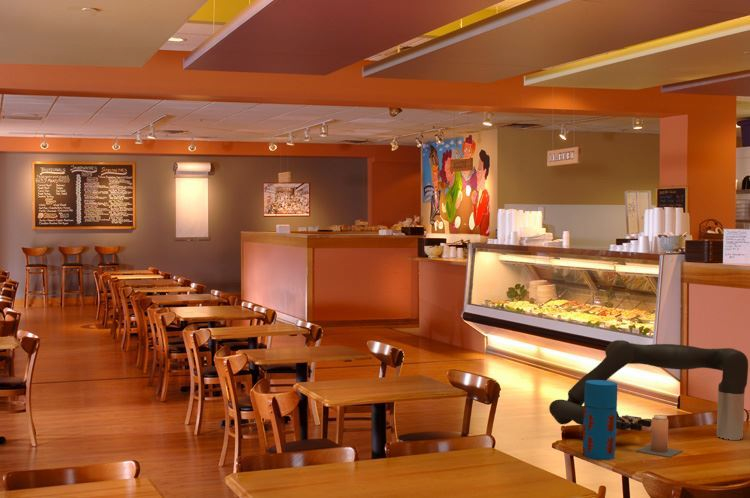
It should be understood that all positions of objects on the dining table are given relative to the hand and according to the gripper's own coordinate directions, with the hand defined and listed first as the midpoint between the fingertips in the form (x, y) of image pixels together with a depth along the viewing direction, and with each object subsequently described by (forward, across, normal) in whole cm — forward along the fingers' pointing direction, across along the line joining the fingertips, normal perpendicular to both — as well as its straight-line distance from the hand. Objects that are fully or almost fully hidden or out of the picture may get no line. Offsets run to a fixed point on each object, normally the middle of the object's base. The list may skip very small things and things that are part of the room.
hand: (646, 425), depth 333 cm
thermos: (-8, -20, +9) cm, 24 cm away
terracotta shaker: (+5, 0, +8) cm, 9 cm away
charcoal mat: (+5, 0, +8) cm, 10 cm away
